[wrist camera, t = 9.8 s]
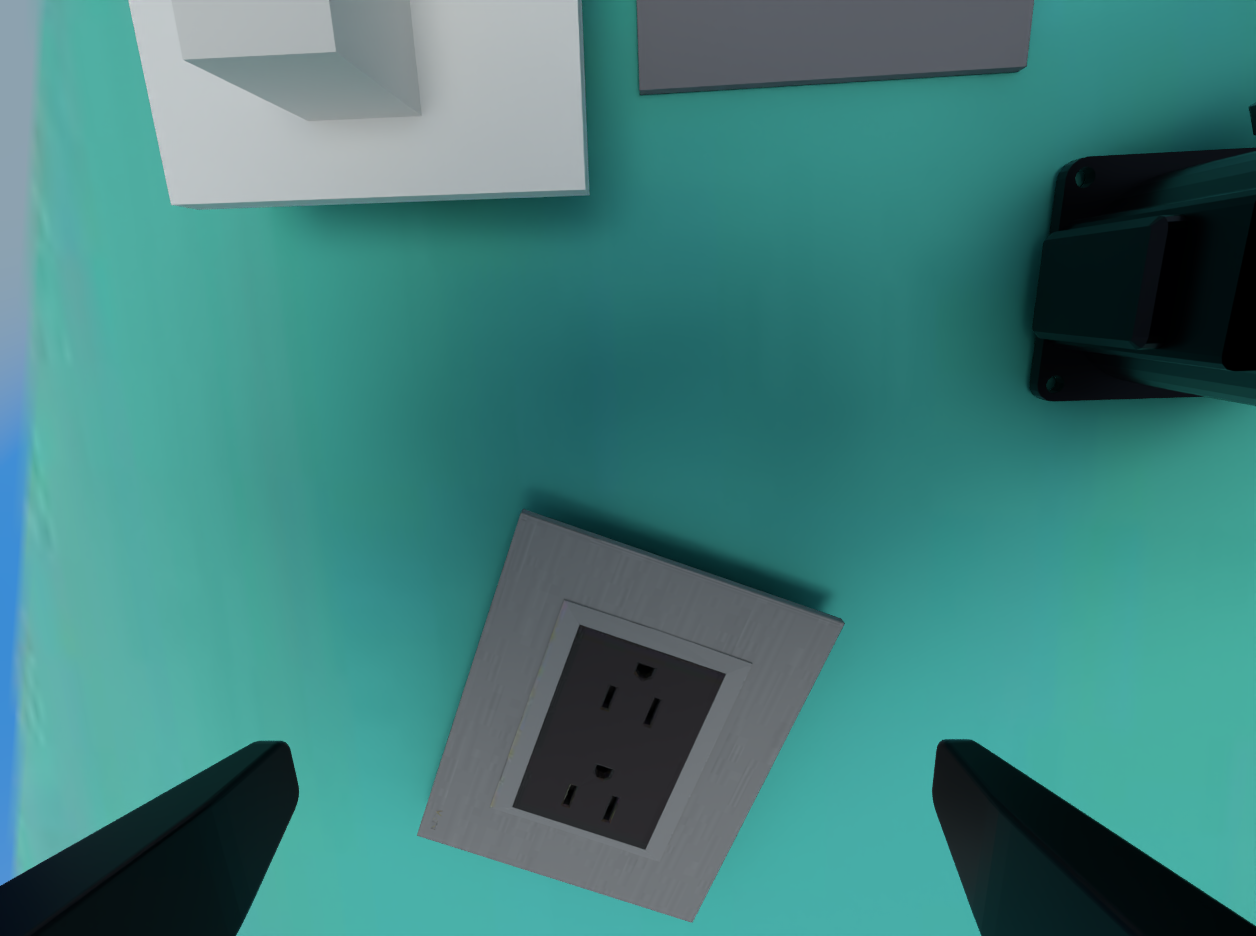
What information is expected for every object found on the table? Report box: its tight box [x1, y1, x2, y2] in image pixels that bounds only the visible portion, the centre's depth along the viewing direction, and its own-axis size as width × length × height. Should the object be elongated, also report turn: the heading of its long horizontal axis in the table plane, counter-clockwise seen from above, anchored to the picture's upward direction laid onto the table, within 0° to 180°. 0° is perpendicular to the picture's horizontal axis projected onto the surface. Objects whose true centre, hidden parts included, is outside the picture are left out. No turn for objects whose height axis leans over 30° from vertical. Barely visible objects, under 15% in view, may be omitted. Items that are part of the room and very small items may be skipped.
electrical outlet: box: [417, 509, 845, 922], centre depth 22 cm, size 13×10×2 cm
